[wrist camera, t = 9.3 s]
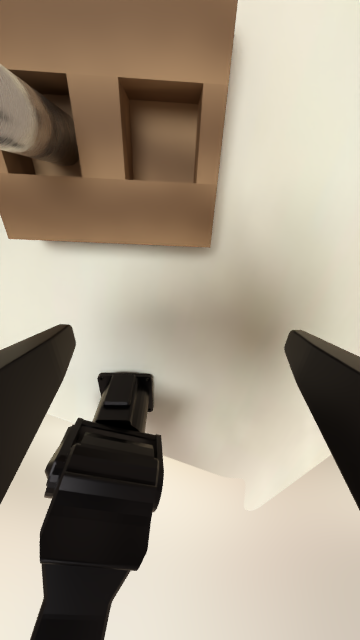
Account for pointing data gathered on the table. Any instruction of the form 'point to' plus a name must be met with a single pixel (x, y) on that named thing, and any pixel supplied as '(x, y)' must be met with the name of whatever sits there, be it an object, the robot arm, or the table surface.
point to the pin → (34, 123)
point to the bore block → (121, 118)
